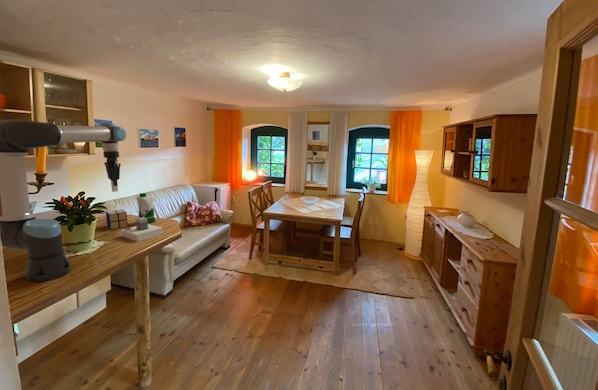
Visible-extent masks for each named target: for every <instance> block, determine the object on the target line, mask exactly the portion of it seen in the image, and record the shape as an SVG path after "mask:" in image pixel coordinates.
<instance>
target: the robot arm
mask: <svg viewBox="0 0 598 390" xmlns="http://www.w3.org/2000/svg"><path fill="white" fill-rule="evenodd" d="M126 137H127V131H126V130H125V128H124V127H122V126H119V125H117V124H115V123H111V122H110V123H109V122H100V125H60V124H59V125H57V124H56V123H53V122H42V121H41V122H40V121H35V120H27V119H5V118H4V119H3V118H2V119H1V118H0V202H1V210H2V215H1V216H0V228H1V240H2V245H1V246H2V247H5V248H9V249H18V250H26V252H27V257H28V262H27V265H26V270H25V279H27V280H26V281H28V282H32V281H39V282H45V281H50V280H51V281H52V280H55V279H57V278H61V277H63V276H66V275H67V274H68V273H70V272H71V271H72V266H71V262H70V260H69V259H68V258H67V256H66V255H65V251H64V245H63V244H64V243H63V237H62V228H61V225H60V223H59V222H58V221H57V220H56V219H53V218H36V215H35V214H34V213H32V212H31V208H30V197H29V188H28V177H27V168H26V159H25V157H26V156H27V155H29V152H30V151H29V150H30V149H38V148H43V147H44V148H45V147H55V146H58V145H60V144H66V143H67V144H69V143H71V144H72V143H73V144H74V143H96V142H102V150H103V158H105V159H106V161H105V162H104V163H103V164H104V166H105V170H106V174H107V177H108V179H109V180H110V184H111V185H110V186H111V192H113V193H114V192H119V184H118V180H120V178H121V177H120V174H121V173H120V172H121V171H120V170H121V163H119V162H118V161H119V160H118V158H120V154H119V153H120V152H119V142H123V141H124V140H126Z"/></svg>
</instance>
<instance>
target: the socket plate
mask: <svg viewBox="0 0 598 390" xmlns="http://www.w3.org/2000/svg"><path fill="white" fill-rule="evenodd" d="M163 231H164V229H163V227H161V226H157V225H153V224H151V223H150V224H148V229H145V230H142V231H139V230H137V227H136V225H134V226H132V227H126V228H125V229H124V228H123V229H121V230H120V233H121V237H123V238H126V239H128V240H132V241H135V242H137V243H138V242H141V241H144V240H147V239H151V238H154V236H155V237H157V236H160V235H161V234H162V235H163V233H164V232H163Z"/></svg>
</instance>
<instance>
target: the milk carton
mask: <svg viewBox="0 0 598 390" xmlns="http://www.w3.org/2000/svg"><path fill="white" fill-rule="evenodd" d="M154 199H155V196H151V195H147V193H145V192H143V193H142V192H141V193H139V196H137V197H136V202H137V208H138V216H139V217H138V218H141V217H145V218H147V222H148V224H150V225H151V224H153V223H156V218H155V210H154Z"/></svg>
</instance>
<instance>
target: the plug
mask: <svg viewBox="0 0 598 390" xmlns="http://www.w3.org/2000/svg"><path fill="white" fill-rule="evenodd" d="M135 226H136V227H137V230H139V231H142V230H145V229H148V222H147V218H145V217H141V218H139V217H137V218H135Z"/></svg>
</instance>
